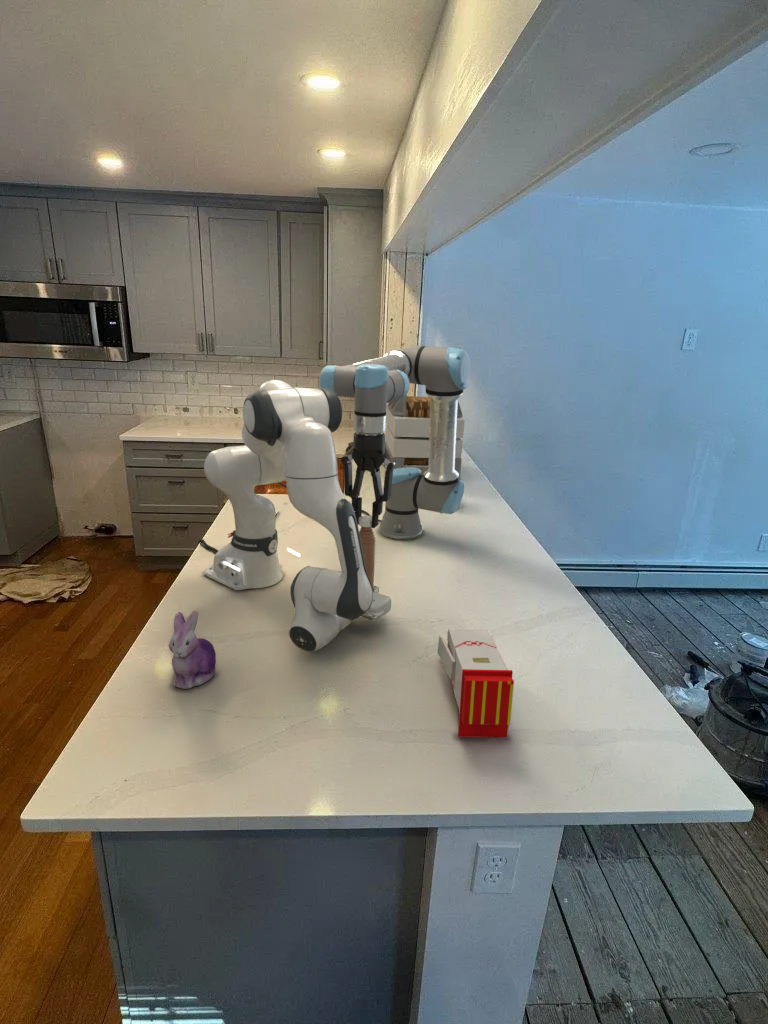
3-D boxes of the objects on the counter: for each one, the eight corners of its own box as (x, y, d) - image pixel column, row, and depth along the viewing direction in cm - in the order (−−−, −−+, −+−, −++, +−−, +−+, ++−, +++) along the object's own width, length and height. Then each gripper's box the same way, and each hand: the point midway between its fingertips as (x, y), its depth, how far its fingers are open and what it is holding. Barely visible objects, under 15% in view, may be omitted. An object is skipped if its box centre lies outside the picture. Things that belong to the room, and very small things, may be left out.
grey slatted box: (382, 463, 289) (386, 382, 275) (445, 464, 293) (451, 384, 279) (390, 482, 257) (394, 392, 243) (460, 483, 261) (468, 394, 247)
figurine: (175, 696, 113) (169, 631, 108) (168, 668, 121) (161, 606, 116) (223, 684, 117) (219, 621, 112) (213, 658, 126) (208, 598, 120)
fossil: (345, 440, 315) (366, 425, 310) (356, 453, 318) (377, 439, 313) (338, 454, 296) (361, 438, 291) (350, 468, 298) (372, 452, 293)
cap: (377, 523, 142) (377, 517, 142) (368, 528, 139) (368, 522, 138) (364, 520, 144) (364, 514, 144) (355, 524, 141) (355, 518, 140)
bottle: (359, 614, 146) (362, 524, 138) (351, 605, 150) (353, 518, 142) (375, 610, 149) (379, 522, 140) (367, 602, 153) (370, 515, 144)
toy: (488, 613, 130) (523, 677, 101) (484, 667, 133) (517, 744, 104) (435, 612, 130) (455, 676, 101) (432, 666, 133) (451, 743, 103)
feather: (286, 506, 225) (288, 502, 225) (268, 529, 199) (271, 525, 198) (282, 503, 225) (284, 499, 225) (264, 526, 199) (267, 522, 198)
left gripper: (377, 608, 131) (402, 584, 143) (303, 586, 139) (332, 566, 151) (376, 631, 133) (401, 606, 145) (303, 609, 142) (332, 587, 153)
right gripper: (408, 433, 134) (403, 525, 142) (342, 425, 139) (341, 515, 147) (398, 439, 128) (393, 535, 136) (330, 431, 133) (329, 524, 141)
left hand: (365, 585), depth 148 cm, fingers closed on bottle, 5 cm apart
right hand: (366, 524), depth 142 cm, fingers closed on cap, 4 cm apart
